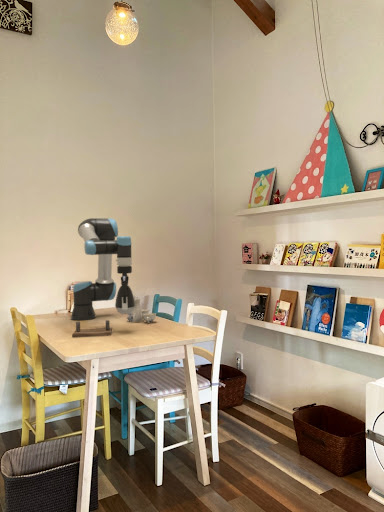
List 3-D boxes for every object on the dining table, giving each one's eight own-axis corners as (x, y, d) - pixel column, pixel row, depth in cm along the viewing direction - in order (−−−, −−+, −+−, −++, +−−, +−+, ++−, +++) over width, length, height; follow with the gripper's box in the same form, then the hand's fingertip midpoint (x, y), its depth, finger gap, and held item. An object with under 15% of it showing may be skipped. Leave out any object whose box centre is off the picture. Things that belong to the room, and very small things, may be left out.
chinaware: (160, 326, 235) (162, 297, 236) (133, 325, 228) (135, 296, 229) (145, 318, 261) (147, 293, 261) (120, 318, 254) (122, 292, 254)
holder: (76, 332, 214) (76, 320, 214) (112, 330, 217) (112, 318, 216) (72, 337, 201) (71, 324, 201) (110, 335, 204) (110, 322, 204)
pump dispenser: (118, 315, 204) (118, 285, 204) (113, 312, 213) (112, 284, 213) (137, 313, 209) (137, 284, 208) (131, 310, 218) (130, 283, 218)
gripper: (118, 264, 221) (119, 304, 222) (115, 267, 199) (116, 311, 199) (132, 264, 222) (132, 304, 223) (131, 266, 200) (132, 311, 200)
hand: (125, 307), depth 211 cm, fingers closed on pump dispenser, 10 cm apart
